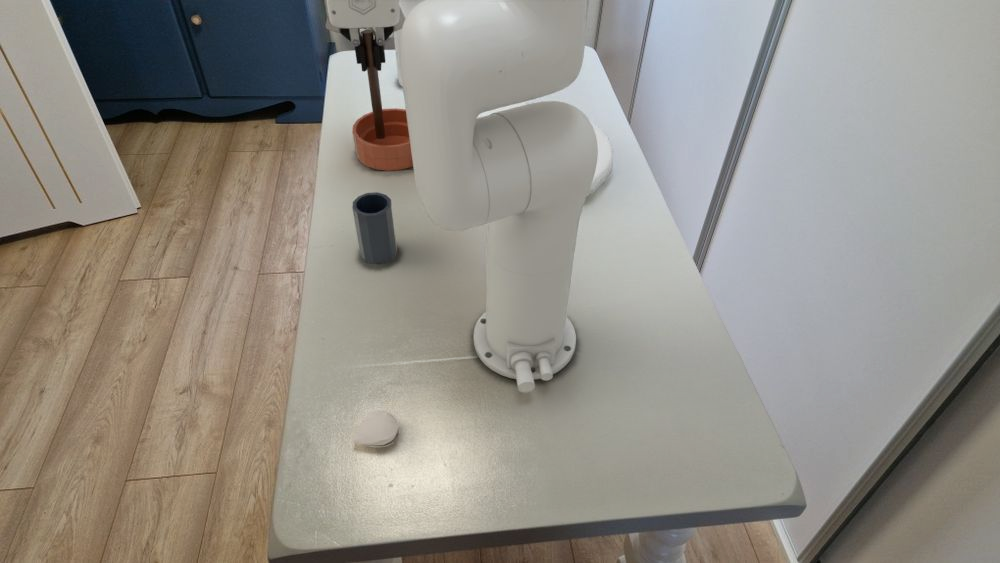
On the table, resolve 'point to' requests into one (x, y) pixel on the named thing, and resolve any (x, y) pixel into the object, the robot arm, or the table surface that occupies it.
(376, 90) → the stick
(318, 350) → the table surface
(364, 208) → the pot
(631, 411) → the table surface
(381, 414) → the grey pebble
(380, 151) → the bowl
